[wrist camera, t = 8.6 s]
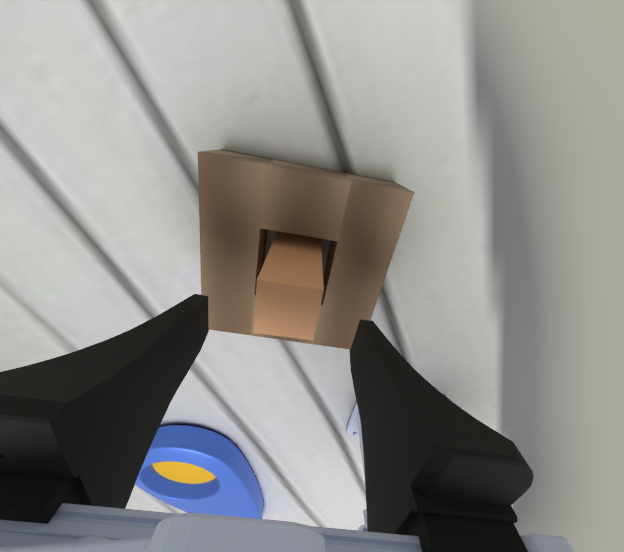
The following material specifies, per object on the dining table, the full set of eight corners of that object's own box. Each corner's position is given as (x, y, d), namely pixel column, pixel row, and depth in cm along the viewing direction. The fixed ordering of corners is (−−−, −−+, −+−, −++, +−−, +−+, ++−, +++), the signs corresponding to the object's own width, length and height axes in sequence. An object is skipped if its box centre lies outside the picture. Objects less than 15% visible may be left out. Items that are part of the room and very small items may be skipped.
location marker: (294, 503, 41) (207, 411, 30) (292, 532, 38) (195, 441, 27) (221, 516, 44) (116, 435, 33) (215, 544, 41) (96, 465, 30)
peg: (320, 235, 20) (323, 289, 13) (313, 273, 21) (313, 340, 14) (278, 228, 19) (256, 280, 12) (274, 267, 21) (253, 332, 14)
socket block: (394, 182, 18) (414, 192, 15) (353, 319, 24) (359, 350, 20) (221, 149, 17) (198, 152, 14) (219, 299, 23) (202, 328, 19)
